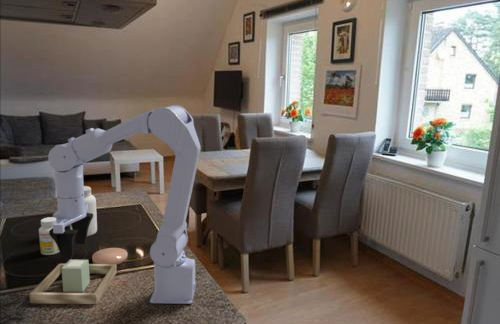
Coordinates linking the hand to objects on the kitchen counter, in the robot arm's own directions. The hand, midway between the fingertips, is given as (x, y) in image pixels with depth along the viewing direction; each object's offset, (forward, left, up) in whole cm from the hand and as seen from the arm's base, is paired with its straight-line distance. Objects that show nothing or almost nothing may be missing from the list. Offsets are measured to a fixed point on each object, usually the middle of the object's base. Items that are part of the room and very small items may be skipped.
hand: (74, 250), depth 92 cm
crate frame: (0, 0, -9) cm, 9 cm away
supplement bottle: (+15, -19, -10) cm, 26 cm away
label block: (0, 0, -10) cm, 10 cm away
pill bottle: (+11, -33, -10) cm, 36 cm away
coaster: (-3, -15, -9) cm, 18 cm away
